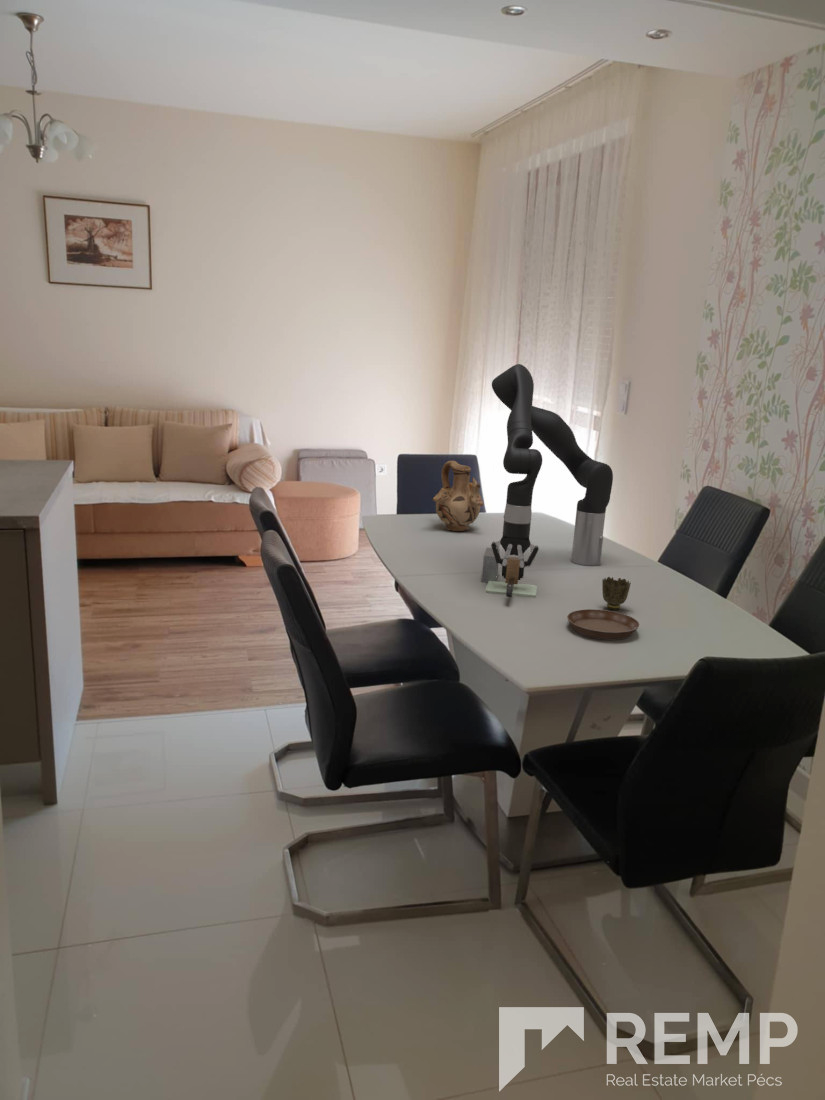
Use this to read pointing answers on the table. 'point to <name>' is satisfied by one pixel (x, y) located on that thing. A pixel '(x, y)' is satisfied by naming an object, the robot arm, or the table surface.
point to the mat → (517, 589)
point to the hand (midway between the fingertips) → (512, 578)
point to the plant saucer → (602, 624)
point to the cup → (615, 592)
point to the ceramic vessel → (458, 498)
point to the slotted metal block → (489, 566)
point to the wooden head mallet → (512, 574)
